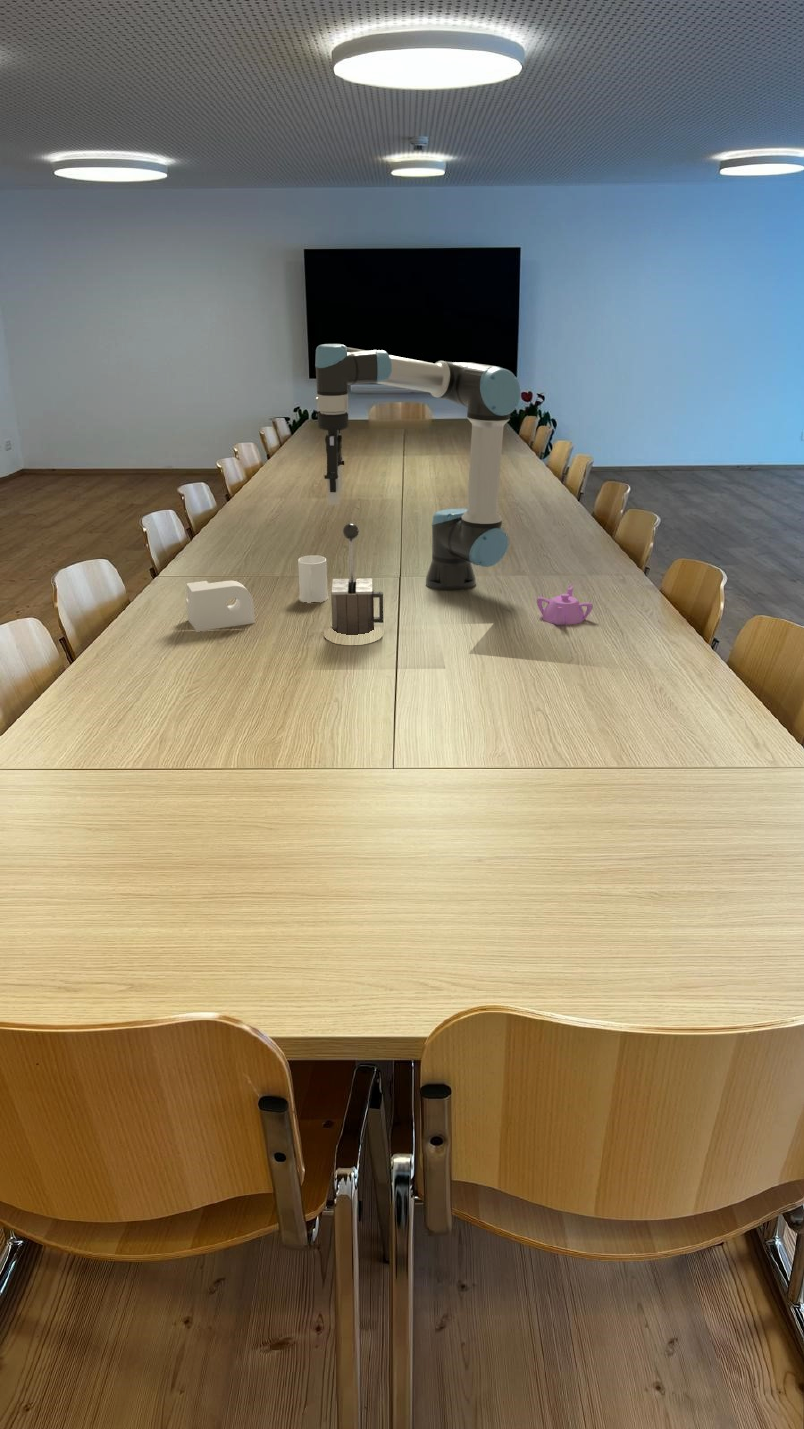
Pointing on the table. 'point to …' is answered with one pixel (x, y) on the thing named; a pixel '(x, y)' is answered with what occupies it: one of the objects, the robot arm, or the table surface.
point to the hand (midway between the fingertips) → (335, 497)
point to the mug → (312, 579)
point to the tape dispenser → (218, 605)
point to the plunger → (351, 549)
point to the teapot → (563, 609)
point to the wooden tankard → (354, 606)
